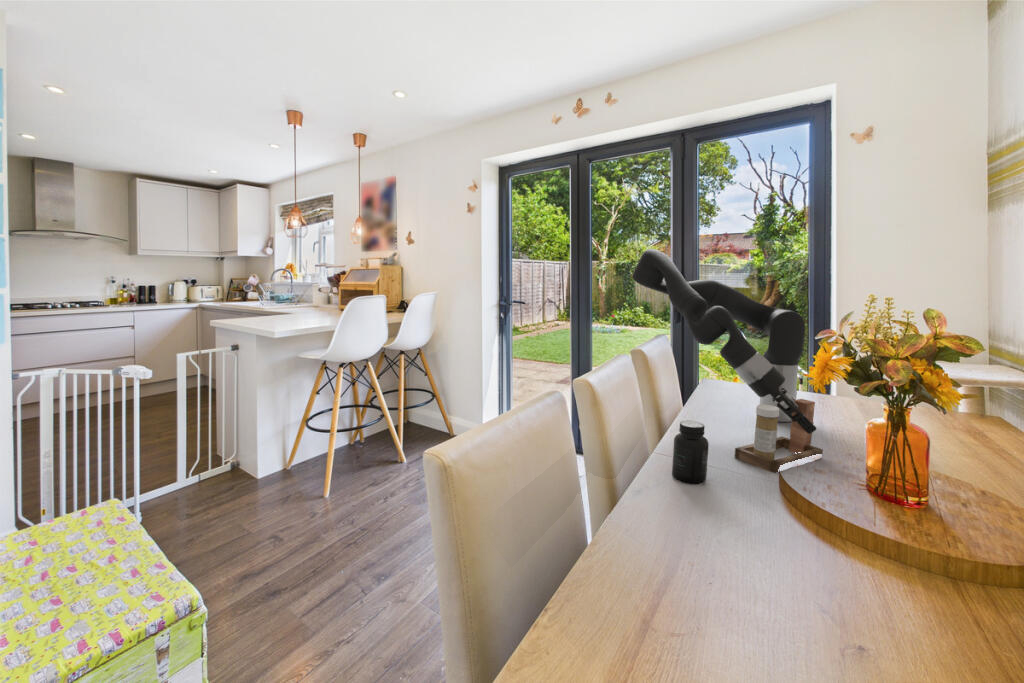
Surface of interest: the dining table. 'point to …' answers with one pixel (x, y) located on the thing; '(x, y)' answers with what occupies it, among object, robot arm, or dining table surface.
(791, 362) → the robot arm
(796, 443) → the wooden frame tray
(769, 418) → the sprinkles bottle
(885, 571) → the dining table surface
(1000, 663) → the dining table surface
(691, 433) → the supplement bottle
